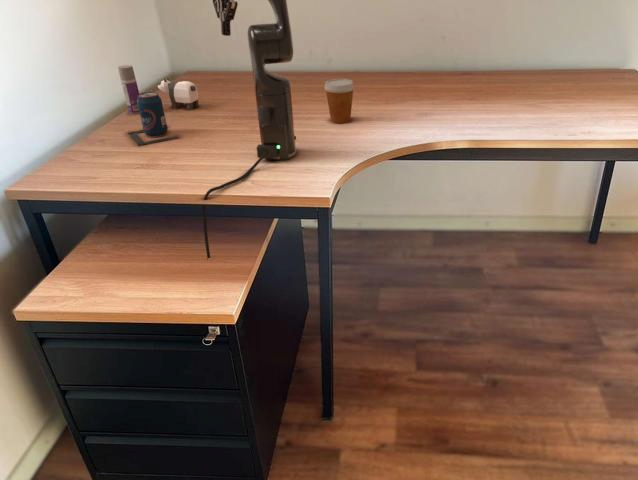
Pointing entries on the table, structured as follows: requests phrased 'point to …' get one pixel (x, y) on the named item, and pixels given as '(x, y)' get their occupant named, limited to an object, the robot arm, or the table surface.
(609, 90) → the table surface
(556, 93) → the table surface
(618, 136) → the table surface
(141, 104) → the soda can
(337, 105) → the disposable coffee cup
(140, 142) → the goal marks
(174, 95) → the giant panda
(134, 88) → the container
